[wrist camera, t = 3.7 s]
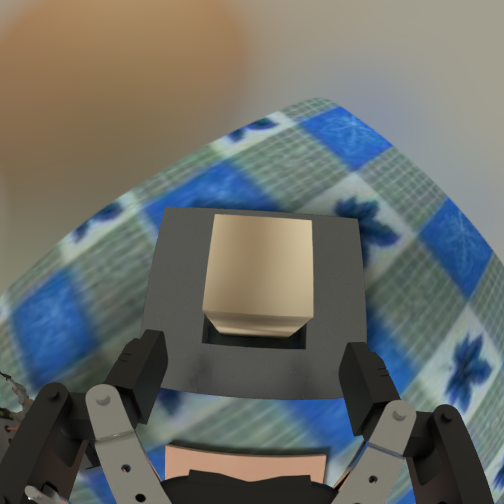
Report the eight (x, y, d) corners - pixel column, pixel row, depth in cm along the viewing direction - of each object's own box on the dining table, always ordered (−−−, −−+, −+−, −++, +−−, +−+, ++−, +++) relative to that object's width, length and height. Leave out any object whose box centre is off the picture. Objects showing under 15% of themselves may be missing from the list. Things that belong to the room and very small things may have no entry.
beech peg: (288, 277, 22) (311, 220, 14) (286, 338, 20) (313, 316, 12) (227, 273, 22) (214, 214, 14) (221, 334, 20) (202, 310, 12)
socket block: (348, 233, 24) (357, 218, 22) (353, 393, 18) (365, 396, 16) (172, 221, 24) (165, 206, 22) (147, 381, 19) (135, 382, 16)
